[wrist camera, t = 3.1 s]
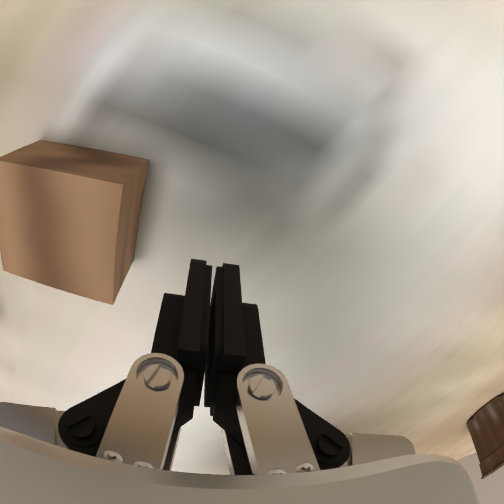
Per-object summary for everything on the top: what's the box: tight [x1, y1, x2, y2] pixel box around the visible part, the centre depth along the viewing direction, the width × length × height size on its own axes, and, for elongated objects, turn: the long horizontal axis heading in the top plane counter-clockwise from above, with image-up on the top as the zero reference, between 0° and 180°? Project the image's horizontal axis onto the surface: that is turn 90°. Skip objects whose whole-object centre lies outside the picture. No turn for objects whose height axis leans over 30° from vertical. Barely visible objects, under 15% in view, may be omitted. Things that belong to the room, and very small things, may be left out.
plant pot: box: [467, 393, 504, 479], centre depth 38 cm, size 16×16×16 cm
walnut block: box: [0, 140, 149, 305], centre depth 15 cm, size 8×7×5 cm
